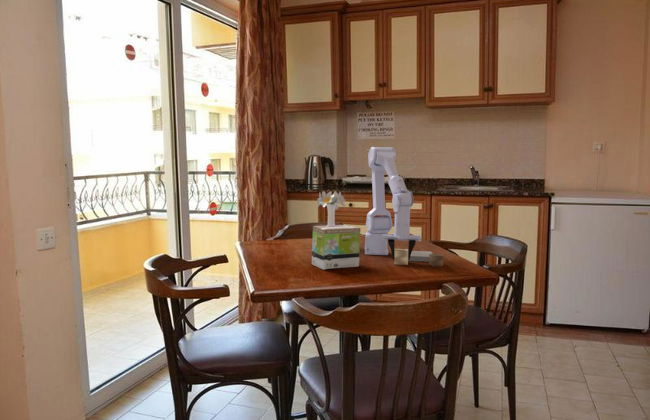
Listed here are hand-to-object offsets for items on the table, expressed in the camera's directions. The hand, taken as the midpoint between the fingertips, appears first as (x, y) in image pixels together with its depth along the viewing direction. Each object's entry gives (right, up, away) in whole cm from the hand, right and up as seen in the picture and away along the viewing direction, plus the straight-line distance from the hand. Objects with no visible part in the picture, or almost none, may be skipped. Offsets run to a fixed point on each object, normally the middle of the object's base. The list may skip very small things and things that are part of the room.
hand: (401, 259), depth 192 cm
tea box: (-25, -2, -6) cm, 26 cm away
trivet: (+8, -1, +9) cm, 12 cm away
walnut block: (+13, -2, -2) cm, 13 cm away
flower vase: (-27, +2, +35) cm, 44 cm away
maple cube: (0, -1, 0) cm, 1 cm away
